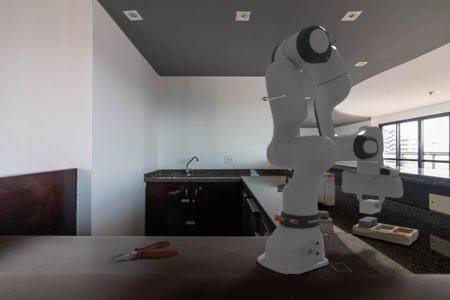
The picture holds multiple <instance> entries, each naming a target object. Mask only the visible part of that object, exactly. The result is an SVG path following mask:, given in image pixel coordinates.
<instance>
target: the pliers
mask: <svg viewBox="0 0 450 300" xmlns="http://www.w3.org/2000/svg"><path fill="white" fill-rule="evenodd" d="M165 247H170V241H169V240H162V241H156V242H154V243H150V244H148V245H146V246H143V247H140V248H139V247H135V248H134V251H126V252H124V253H120V254H117V255H114V256H111V257H110V258H111V259H112V260H111V261H112V262H115V261H116V262H117V261H127V260H128V261H129V260H132V259H137V260H141V259H145V258H147V259H149V258H151V259H155V258H156V259H157V258H158V259H161V258H163V259H164V258H170V257H173V256H177V255H178V253H179V249H177V248H176V247H175V248H169V249H163V250H158V249H159V248H165Z"/></svg>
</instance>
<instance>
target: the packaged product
mask: <svg viewBox="0 0 450 300" xmlns="http://www.w3.org/2000/svg"><path fill="white" fill-rule="evenodd" d="M318 213H319V217H320V220H319V223H333V222H334V221H333V218H331V217H330V214H329V211H327V210H318Z"/></svg>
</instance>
